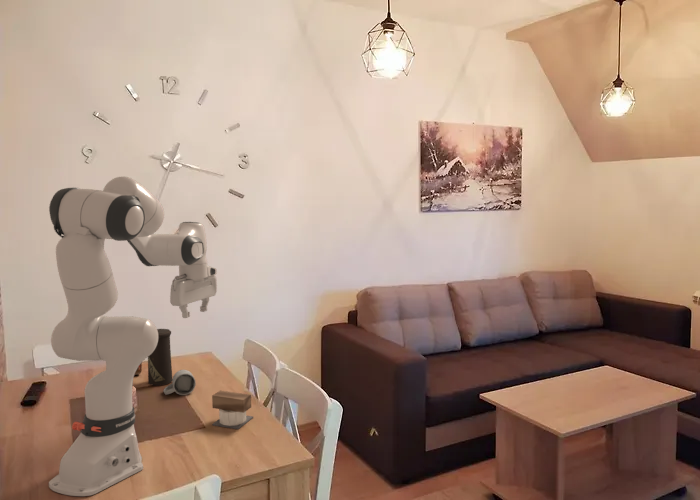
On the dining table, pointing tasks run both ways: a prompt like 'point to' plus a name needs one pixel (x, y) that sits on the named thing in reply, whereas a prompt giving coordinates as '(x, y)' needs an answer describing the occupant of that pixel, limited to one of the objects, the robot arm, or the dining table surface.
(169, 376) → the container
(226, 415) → the bowl
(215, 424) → the mat
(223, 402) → the brown wooden block
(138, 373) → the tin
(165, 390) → the ceramic mug
